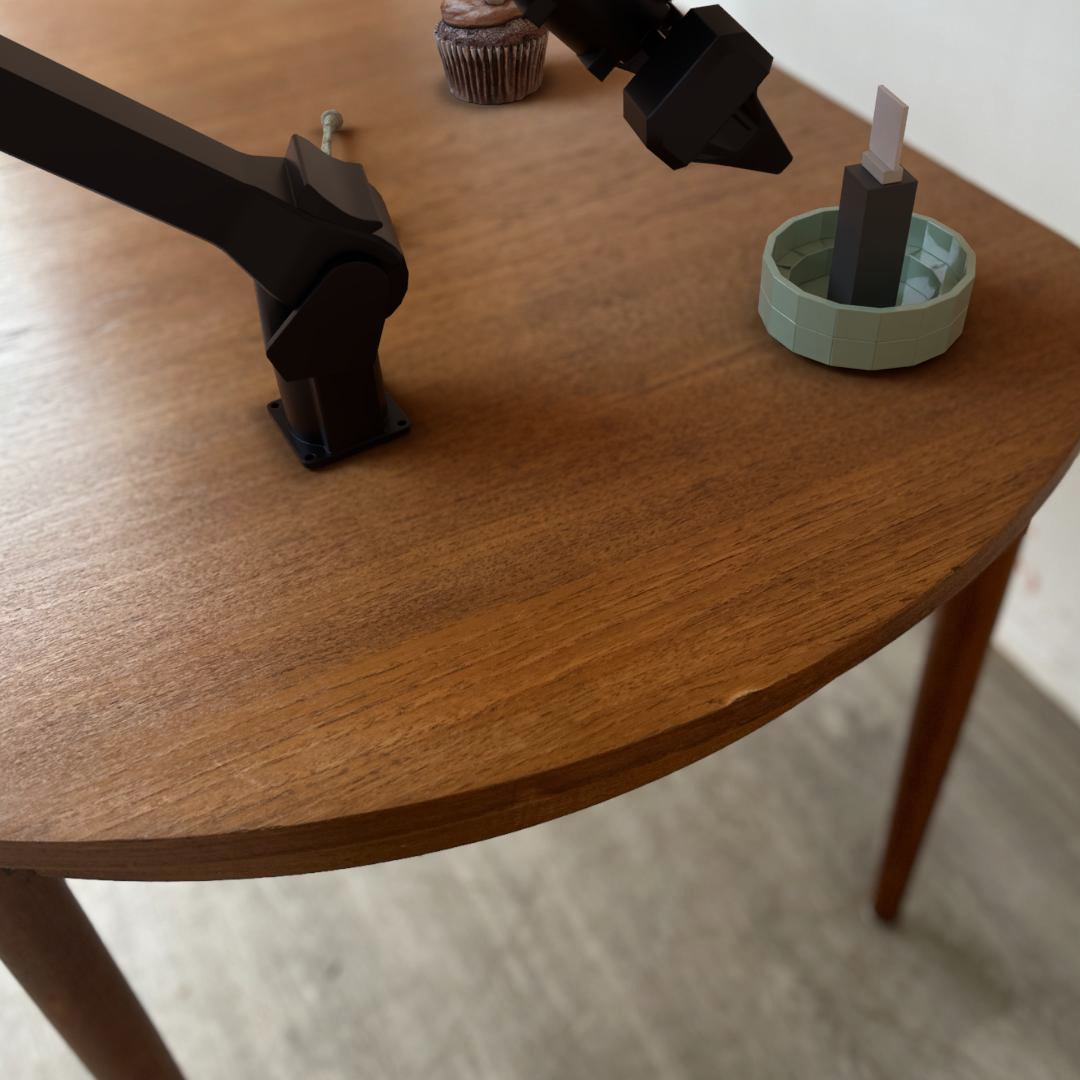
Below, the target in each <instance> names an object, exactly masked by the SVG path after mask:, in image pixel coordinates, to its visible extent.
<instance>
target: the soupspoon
mask: <svg viewBox="0 0 1080 1080" xmlns="http://www.w3.org/2000/svg"><path fill="white" fill-rule="evenodd" d="M320 123H321V124H322V131H323V135H322V141H321V147H320V150H322V151H323V152H325V153H326V154H328V155H330V156H331V157H333V156H332V141H333V135H334V134H335V132H337V131H339V130H340V129H342V127H343V124H344V117H343V114H342V113H341V112H340V111H339V110H338V109H327V110H325V111H324V112H322V114H321V115H320Z"/></svg>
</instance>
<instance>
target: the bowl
mask: <svg viewBox="0 0 1080 1080" xmlns="http://www.w3.org/2000/svg"><path fill="white" fill-rule="evenodd" d="M838 212H839V205H834V206H825V207H819V208H818V207H817V208H816V209H813V210H809V211H807V212H804V213H801V214H798V215H795V216H793V217H789V218H787V219H786V220H785V221H784V222H783V223H781V225H780V226H778V227H777V228H776V229H774V230H773V231H772V232H771V233H770V234H769V235H768V236H767V240H766V243H765V247H764V250H763V253H762V261H761V262H762V263H761V271H760V273H761V274H760V285H759V297H758V304H757V305H758V306H757V312H758V314H759V316H760V318H761V320H762V322H763V325H764V327H765V329H766V331H767V333H768V334H769V335H770V336H771V337H772V338H774V339H775V340H776V341H778V342H779V343H780V344H781V345H783V346H784V347H785V348H787V349H788V350H789V351H790V352H792V353H794V354H796V355H799V356H801V357H805V358H808V359H811V360H813V361H816V362H819V363H822V364H823V365H827V366H831V367H839V368H847V369H856V370H862V371H863V370H865V371H879V370H880V371H881V370H888V369H897V368H904V367H905V368H906V367H914V366H916V365H919V364H921V363H923V362H926V361H928V360H930V359H931V360H932V359H934V358H935V357H937V356H940V355H943V354H945V353H946V351H948V350H949V349H950V347H951V346H952V345H953V344H954V343H955V342H956V340H957V339H958V338H959V337H961V335H962V334H963V331H964V328H965V327H964V326H965V322H966V318H967V314H968V309H969V305H970V300H971V296H972V291H973V288H974V283H975V279H976V268H977V267H976V266H977V264H976V263H977V255H976V253H975V252H974V250H973V249H972V247H971V246H970V245H969V244H968V242H967V241H966V239H965V238H964V237H963V236H962V234H961V233H959V232H957V231H956V230H954V229H952V228H950V227H949V226H947V225H945V224H944V223H942V222H940V221H938V220H937V219H935V218H934V217H931V216H928V215H924V214H920V213H916V212H914V211H913V213H912V218H911V224H910V229H909V235H908V240H907V245H906V251H905V256H904V262H903V267H902V273H901V278H900V284H899V289H898V295H897V300H896V306H895V307H887V308H874V307H864V306H855V305H846V304H839V303H836V302H833V301H830V300H827V294H828V286H829V279H830V271H831V264H832V257H833V249H834V242H835V234H836V227H837V220H838Z"/></svg>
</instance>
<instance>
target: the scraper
mask: <svg viewBox="0 0 1080 1080" xmlns="http://www.w3.org/2000/svg"><path fill="white" fill-rule="evenodd" d="M909 108H910V106H908V104H907V103H905V102H904V101H903V100H902V99H901V98H899V97H898V96H897V95H896V94H895V93H893V92H892V91H891V90H890V89H889V88H888V87H886V86H885V85H884V84H880V85H879V84H878V85H877V90H876V98H875V103H874V110H873V118H872V124H871V130H870V138H869V145H868V149H869V150H865V151H863V152H862V158H861V162H860V163H856V164H855V163H853V164H849V165H845V166H844V169H843V176H842V183H841V192H840V197H839V204H838V206H839V212H838V220H837V227H836V234H835V242H834V249H833V257H832V264H831V271H830V279H829V286H828V294H827V300H830V301H833V302H836V303H839V304H846V305H855V306H864V307H874V308H887V307H895V306H896V300H897V295H898V289H899V284H900V278H901V273H902V267H903V262H904V256H905V251H906V245H907V240H908V235H909V229H910V224H911V218H912V213H913V212H914V207H915V202H916V195H917V192H918V191H917V190H918V185H919V180H918V179H917V178H916V177H915V176H914V175H913V174H911V172H909V171H908V170H907V169H906V168H905V167H904V166H903V165H902V164H901V163H900V162H901V158H902V157H901V156H902V152H903V145H904V139H905V133H906V127H907V120H908V116H909V115H908V114H909Z"/></svg>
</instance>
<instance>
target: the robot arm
mask: <svg viewBox="0 0 1080 1080" xmlns="http://www.w3.org/2000/svg"><path fill="white" fill-rule="evenodd" d="M513 2H514V3H515V4H516V6H517V7H518V9H519V10H520V12H521V13H522V14H523V16H525V17H526V18H527V19H528V20H529V21H530V22H532V23H533V24H534V25H535V26H536V27H537V28H539V29H540V27H541V26H542V25H543V26H544V27H545V28H547V29H548V30H549V33H551V34H552V35H553V36H555V37H556V38H557V39H558V40H559V41H560V42H562V44H564V45H565V46H566V47H568V48H569V50H571V51H572V52H573V53H574V54H575V55H576V57H577V58H578V60H579V61H580V62H581V64H582V65H583V66H584V68H585V69H586V71H588V72H589V73H590V74H591V75H592V76H594V77H595V78H596V79H597V80H599V82H601V83H603V82H604V81H605V80H606V79H607V77H608V76H609V75H610V74H611V72H613V70H614V69H615V68H617V69H620V70H622V71H625V72H629V73H631V74H634V75H633V77H631V79H630V80H629V81H628V83H627V84H626V85H624V87H623V88H622V117H623V119H624V120H625V121H626V123H627V124H628V125H629V127H630V128H631V129H632V131H633V132H634V133H635V136H637V137H638V139H639V140H640V142H641V143H642V144H643V146H645V148H646V149H647V150H648V151H649V152H650V153H652V154H653V155H654V156H655V157H656V158H657V159H659V160H660V161H661V162H663V163H664V164H665V165H666V166H667V167H669V169H671V170H672V171H673V172H675V171H677V170H680V169H683V168H687V167H688V166H689V165H690V164H691V163H695V164H705V165H715V166H723V167H730V168H735V169H741V170H747V171H753V172H759V173H764V174H769V175H775V176H777V175H781V174H782V173H783V172H784V171H785V170H786V168H788V167H789V165H790V164H791V163H792V162H793V160H794V156H793V154H792V152H791V151H790V149H789V148H788V145H787V144H786V142H785V141H784V139H783V137H782V136H781V134H780V132H779V130H778V129H777V127H776V125H775V123H774V122H773V120H772V119H771V117H770V115H769V114H768V112H767V110H766V108H765V107H764V105H763V103H762V102H761V100H760V98H759V96H758V89H759V87H760V86H761V84H762V83H763V82H764V80H765V79H766V78H767V77H768V76H769V74H770V73H771V70H772V65H773V62H774V60H775V59H774V56H773V55H772V54H771V53H770V52H769V51H768V50H767V49H766V48H765V47H764V46H763V45H762V44H761V43H760V42H759V41H758V40H757V39H756V38H755V37H754V36H753V35H752V34H751V33H750V32H749V31H748V30H747V29H746V28H744V26H743V25H741V24H740V23H739V22H738V20H736V19H735V18H734V17H733V16H732V15H731V14H730V13H729V12H728V11H727V10H726V9H725V8H724V7H722V5H720V4H719V3H715V4H709V5H703V6H695V7H690V8H689V9H688V11H687V12H686V13H685V14H684V13H683V12H682V11H680V9H679V8H678V7H677V6H676V5H675V4H674V3H673V0H513ZM0 152H1V153H4V154H6V155H8V156H10V157H13V158H15V159H17V160H19V161H22V162H24V163H25V164H29V165H31V166H33V167H34V168H37V169H40V170H42V171H44V172H46V173H49V174H51V175H52V176H53V175H54V176H56V177H57V178H60V179H63V180H64V181H66V182H69V183H72V184H73V185H76V186H78V187H81V188H84V189H85V190H87V191H89V192H92V193H94V194H97V195H99V196H101V197H104V198H106V199H108V200H109V201H113V202H115V203H117V204H119V205H122V206H124V207H126V208H129V209H131V210H134V211H136V212H138V213H140V214H142V215H145V216H147V217H150V218H152V219H153V220H156V221H159V222H161V223H163V224H165V225H167V226H170V227H171V228H174V229H176V230H178V231H180V232H183V233H185V234H188V235H189V236H193V237H194V238H197V239H199V240H201V241H204V242H205V243H206V242H207V243H208V244H210V245H212V246H214V247H216V248H217V249H219V250H220V251H222V252H223V253H224V254H225V255H227V256H228V258H230V260H232V261H233V262H234V263H235V264H236V265H237V266H238V267H240V269H241V270H243V271H244V272H245V273H246V274H247V275H248V276H249V277H250V278H251V279H252V281H253V287H254V293H255V298H256V299H255V300H256V304H257V310H258V316H259V323H260V329H261V333H262V334H261V335H262V340H263V345H264V352H265V356H266V359H268V360H269V362H270V363H271V365H272V367H273V372H274V375H275V380H276V384H277V388H278V392H279V395H280V398H277V399H275V400H272V401H270V402H269V403H267V405H266V410H267V413H268V415H269V418H271V421H272V422H273V423H274V424H275V426H276V427H277V429H278V431H279V432H280V434H281V436H282V437H283V439H284V440H285V441H286V443H287V444H288V446H289V447H290V449H291V450H292V452H293V454H294V455H295V457H296V458H297V459H298V461H299V462H300V464H301V465H302V467H303V468H304V469H307V470H313V469H316V468H320V467H322V466H324V465H326V464H329V463H332V462H336V461H338V460H339V459H343V458H345V457H348V456H350V455H353V454H356V453H358V452H362V451H364V450H366V449H370V448H372V447H375V446H377V445H380V444H383V443H385V442H388V441H390V440H393V439H396V438H398V437H401V436H404V435H407V434H408V433H410V432H411V431H412V422H411V420H410V418H409V417H408V416H407V415H406V413H405V412H404V411H403V410H402V408H401V407H400V406H399V405H398V403H397V402H396V401H395V400H394V398H393V397H392V396H391V395H390V393H389V392H388V391H387V390H386V388H385V384H384V379H383V373H382V372H383V371H382V366H381V360H380V355H379V348H380V343H381V339H382V336H383V333H384V332H383V331H384V327H385V323H386V320H387V319H388V318H390V317H391V316H392V315H393V314H394V313H395V312H396V311H397V309H398V308H399V307H400V306H401V305H402V303H403V301H404V299H405V296H406V294H407V292H408V290H409V278H410V272H409V269H408V264H407V261H406V257H405V255H404V252H403V249H402V247H401V244H400V242H399V241H400V240H399V238H398V235H397V232H396V230H395V227H394V225H393V222H392V218H391V216H390V213H389V210H388V207H387V205H386V202H385V200H384V199H383V196H382V194H381V193H380V192H379V191H378V190H377V188H376V187H375V186H374V185H372V184H371V183H370V182H369V180H368V177H367V175H366V174H367V173H366V171H365V169H364V166H363V164H362V163H361V162H352V161H344V160H341V159H339V158H336V157H333V156H330V155H328V154H326V153H325V152H323V151H322V150H321V148H319V147H318V146H316V145H315V144H314V143H313V142H311V141H310V140H308V139H307V138H305V137H303V136H302V135H300V134H298V133H294V134H292V135H291V136H290V139H289V142H288V146H287V149H286V152H285V155H284V156H271V155H270V156H268V155H256V154H255V155H254V154H248V153H245V152H242V151H239V150H238V149H237V150H236V149H235V148H233V147H231V146H228V145H226V144H224V143H222V142H221V141H218V140H216V139H214V138H212V137H210V136H208V135H207V134H204V133H202V132H200V131H198V130H197V129H193V128H192V127H189V126H188V125H186V124H184V123H182V122H179V121H178V120H175V119H174V118H172V117H169V116H167V115H165V114H163V113H162V112H159V111H157V110H156V109H153V108H151V107H149V106H148V105H146V104H143V103H141V102H139V101H137V100H135V99H133V98H131V97H128V96H126V95H125V94H122V93H120V91H116V90H115V89H112V88H111V87H108V86H106V85H104V84H102V83H100V82H98V81H96V80H94V79H92V78H90V77H88V76H86V75H84V74H82V73H79V72H78V71H76V70H74V69H72V68H69V67H67V66H65V65H64V64H62V63H59V62H57V61H55V60H53V59H51V58H49V57H47V56H46V55H44V54H41V53H39V52H37V51H35V50H34V49H31V48H29V47H27V46H24V45H23V44H21V43H19V42H17V41H15V40H12V39H10V38H9V37H6V36H4V35H2V34H0Z"/></svg>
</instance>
